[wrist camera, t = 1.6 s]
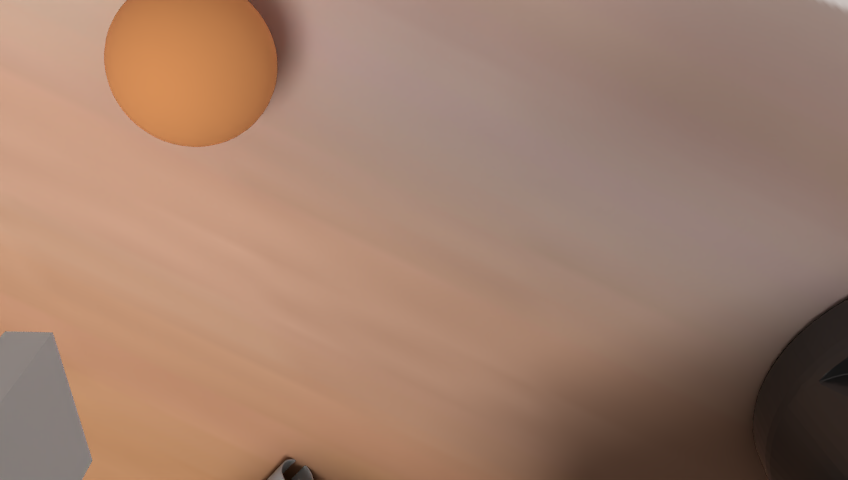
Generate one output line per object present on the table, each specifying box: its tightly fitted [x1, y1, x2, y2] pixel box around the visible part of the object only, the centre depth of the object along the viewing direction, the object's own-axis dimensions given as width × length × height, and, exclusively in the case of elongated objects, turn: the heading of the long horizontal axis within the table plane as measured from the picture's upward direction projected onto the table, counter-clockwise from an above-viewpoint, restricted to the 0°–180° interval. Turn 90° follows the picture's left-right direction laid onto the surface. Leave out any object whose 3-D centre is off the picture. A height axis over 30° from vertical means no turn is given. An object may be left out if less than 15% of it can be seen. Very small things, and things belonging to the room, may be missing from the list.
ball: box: [104, 0, 277, 147], centre depth 27 cm, size 6×6×6 cm
